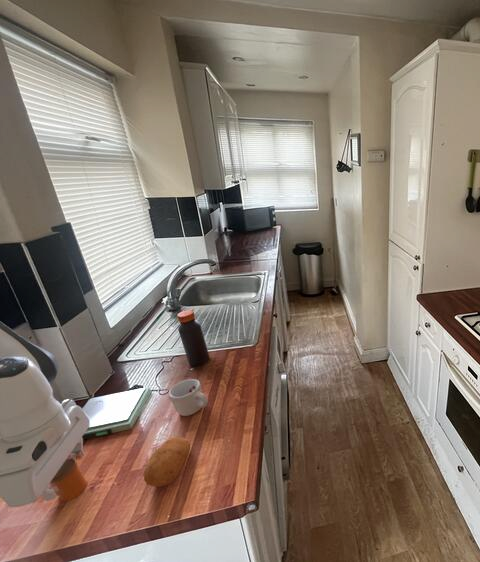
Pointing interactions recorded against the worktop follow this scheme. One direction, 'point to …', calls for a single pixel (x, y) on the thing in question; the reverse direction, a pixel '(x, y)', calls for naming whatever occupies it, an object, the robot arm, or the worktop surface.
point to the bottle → (192, 339)
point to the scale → (114, 412)
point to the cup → (187, 397)
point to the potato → (166, 462)
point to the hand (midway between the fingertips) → (67, 475)
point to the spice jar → (69, 480)
